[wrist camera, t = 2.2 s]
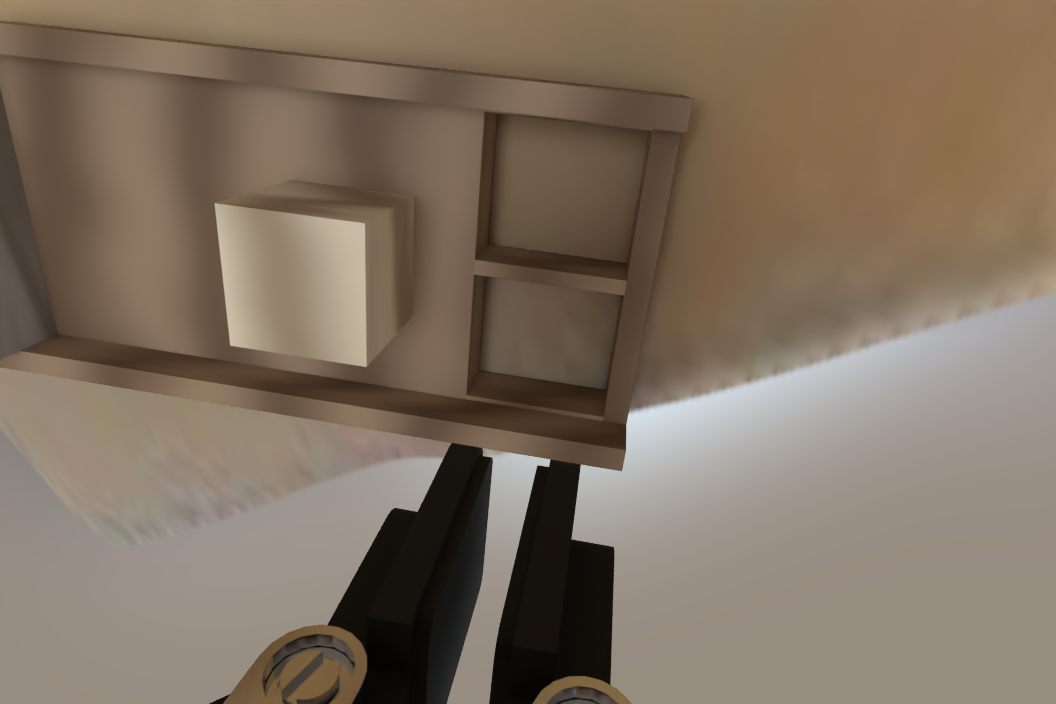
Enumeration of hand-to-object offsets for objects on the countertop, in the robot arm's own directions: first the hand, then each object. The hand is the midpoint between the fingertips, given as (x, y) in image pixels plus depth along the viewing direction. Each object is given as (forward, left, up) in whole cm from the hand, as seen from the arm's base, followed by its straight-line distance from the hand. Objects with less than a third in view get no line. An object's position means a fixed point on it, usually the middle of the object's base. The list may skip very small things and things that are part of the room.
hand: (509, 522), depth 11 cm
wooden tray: (+11, 0, -17) cm, 20 cm away
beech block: (+9, 0, -15) cm, 17 cm away
